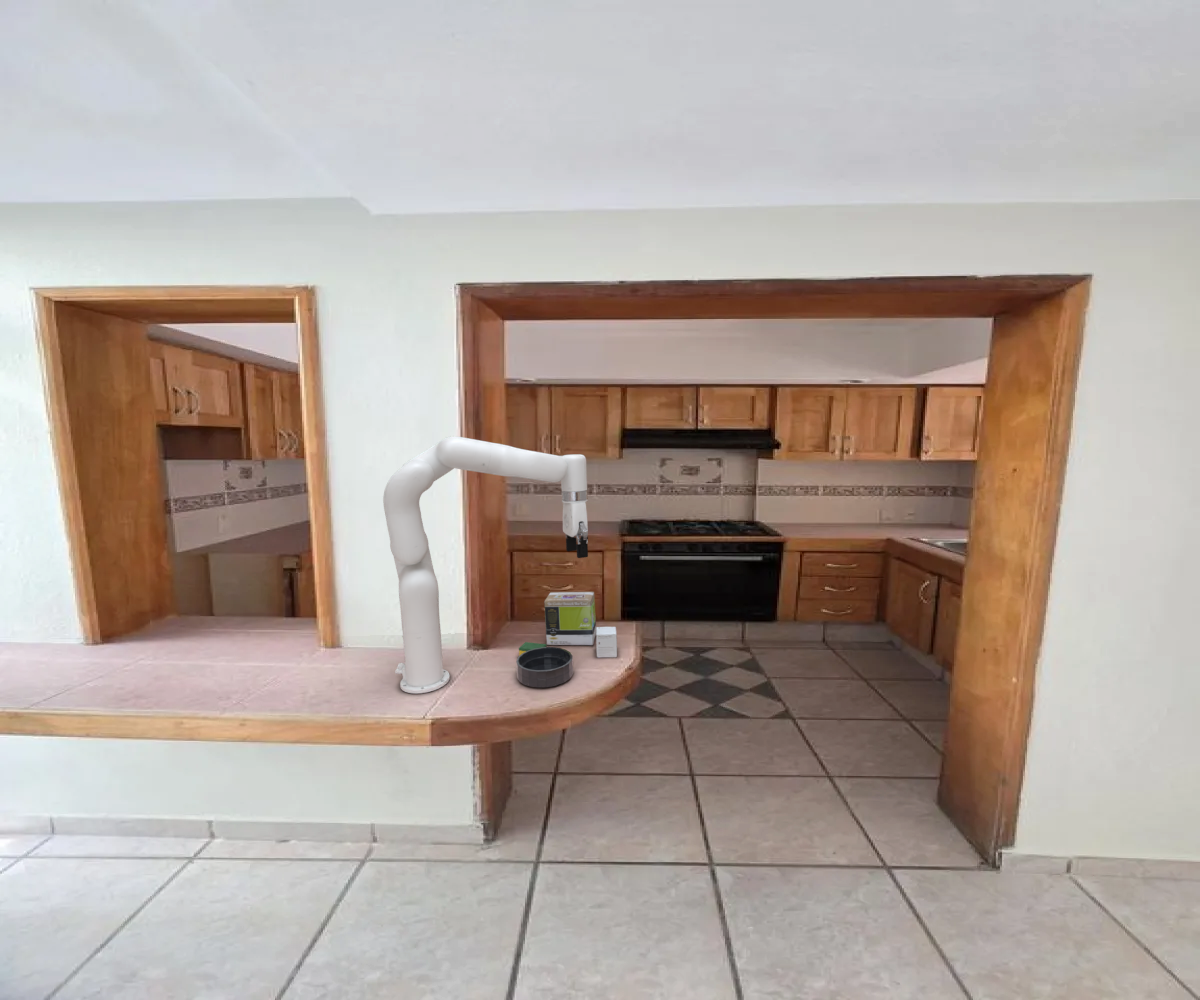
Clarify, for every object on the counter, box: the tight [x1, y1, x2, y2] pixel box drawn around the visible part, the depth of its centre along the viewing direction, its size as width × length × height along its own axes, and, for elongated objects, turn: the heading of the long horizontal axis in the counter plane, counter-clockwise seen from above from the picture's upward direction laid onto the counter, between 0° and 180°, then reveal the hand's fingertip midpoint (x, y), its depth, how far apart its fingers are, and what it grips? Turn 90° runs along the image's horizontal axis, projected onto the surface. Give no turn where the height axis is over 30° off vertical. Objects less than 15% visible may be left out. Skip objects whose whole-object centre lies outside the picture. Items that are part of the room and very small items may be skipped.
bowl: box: [515, 646, 574, 689], centre depth 136 cm, size 15×15×5 cm
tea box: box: [543, 591, 597, 646], centre depth 160 cm, size 15×10×15 cm
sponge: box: [518, 641, 548, 657], centre depth 149 cm, size 7×4×3 cm, turn 72°
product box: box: [595, 626, 618, 658], centre depth 149 cm, size 6×6×7 cm
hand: (576, 554), depth 147 cm, fingers open, 9 cm apart
